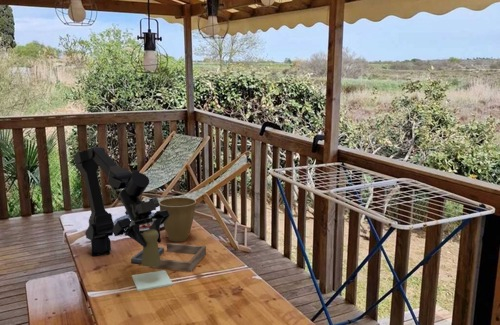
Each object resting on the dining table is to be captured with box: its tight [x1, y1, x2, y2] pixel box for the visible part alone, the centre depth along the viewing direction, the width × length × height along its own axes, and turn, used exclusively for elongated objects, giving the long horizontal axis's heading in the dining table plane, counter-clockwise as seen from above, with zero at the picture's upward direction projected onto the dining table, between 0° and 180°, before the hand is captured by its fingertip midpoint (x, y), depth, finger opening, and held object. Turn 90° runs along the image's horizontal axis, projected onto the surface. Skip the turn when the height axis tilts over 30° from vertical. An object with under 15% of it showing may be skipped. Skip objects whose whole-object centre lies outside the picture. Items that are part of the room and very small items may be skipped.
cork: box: [141, 229, 161, 268], centre depth 143 cm, size 6×6×11 cm
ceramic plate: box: [113, 211, 165, 232], centre depth 201 cm, size 26×26×3 cm
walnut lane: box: [150, 242, 207, 273], centre depth 162 cm, size 15×16×3 cm
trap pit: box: [130, 246, 165, 265], centre depth 164 cm, size 7×13×2 cm, turn 167°
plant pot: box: [159, 196, 197, 243], centre depth 182 cm, size 15×15×16 cm
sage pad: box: [131, 269, 173, 292], centre depth 145 cm, size 11×11×1 cm
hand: (152, 244), depth 142 cm, fingers closed on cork, 5 cm apart
